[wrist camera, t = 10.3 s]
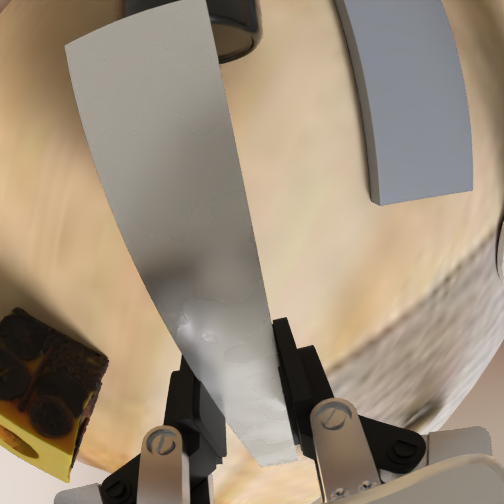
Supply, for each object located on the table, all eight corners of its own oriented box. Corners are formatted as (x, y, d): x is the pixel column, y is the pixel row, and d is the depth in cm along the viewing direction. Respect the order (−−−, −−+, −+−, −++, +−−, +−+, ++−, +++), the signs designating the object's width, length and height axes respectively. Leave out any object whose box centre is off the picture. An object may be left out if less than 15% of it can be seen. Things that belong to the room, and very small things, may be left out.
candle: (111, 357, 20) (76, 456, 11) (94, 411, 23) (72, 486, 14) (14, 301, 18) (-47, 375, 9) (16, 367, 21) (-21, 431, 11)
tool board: (381, -92, 6) (386, -97, 5) (462, 187, 17) (472, 190, 16) (285, -109, 6) (287, -116, 5) (371, 201, 17) (380, 206, 16)
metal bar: (209, 36, 6) (204, -5, 3) (287, 413, 18) (297, 460, 15) (127, 59, 6) (64, 45, 3) (253, 419, 18) (261, 467, 15)
